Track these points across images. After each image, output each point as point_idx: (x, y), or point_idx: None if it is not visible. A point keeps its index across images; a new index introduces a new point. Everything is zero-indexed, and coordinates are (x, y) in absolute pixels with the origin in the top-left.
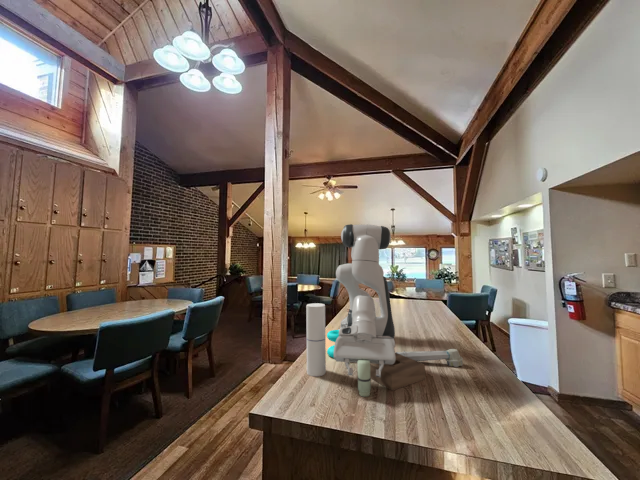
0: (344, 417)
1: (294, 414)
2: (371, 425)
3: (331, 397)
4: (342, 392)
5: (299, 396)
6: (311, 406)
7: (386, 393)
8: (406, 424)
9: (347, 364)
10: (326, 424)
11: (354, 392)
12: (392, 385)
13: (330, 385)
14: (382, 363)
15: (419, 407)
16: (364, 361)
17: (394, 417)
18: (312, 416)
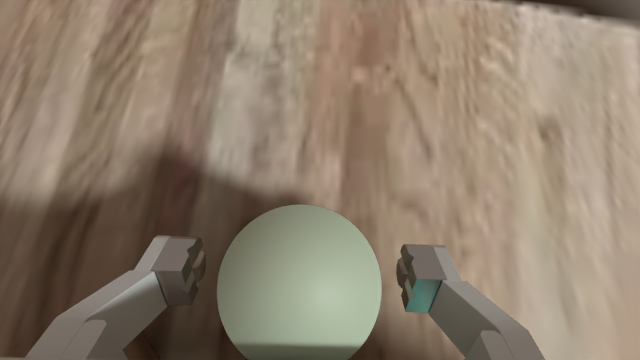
0: (394, 52)
1: (598, 53)
2: (286, 13)
3: (476, 205)
4: None
5: (636, 196)
6: (549, 116)
7: None
8: (144, 30)
9: (482, 307)
10: (457, 5)
11: None
12: None
13: None
14: (64, 326)
15: (38, 159)
16: (290, 301)
17: (183, 70)
18: (523, 47)
